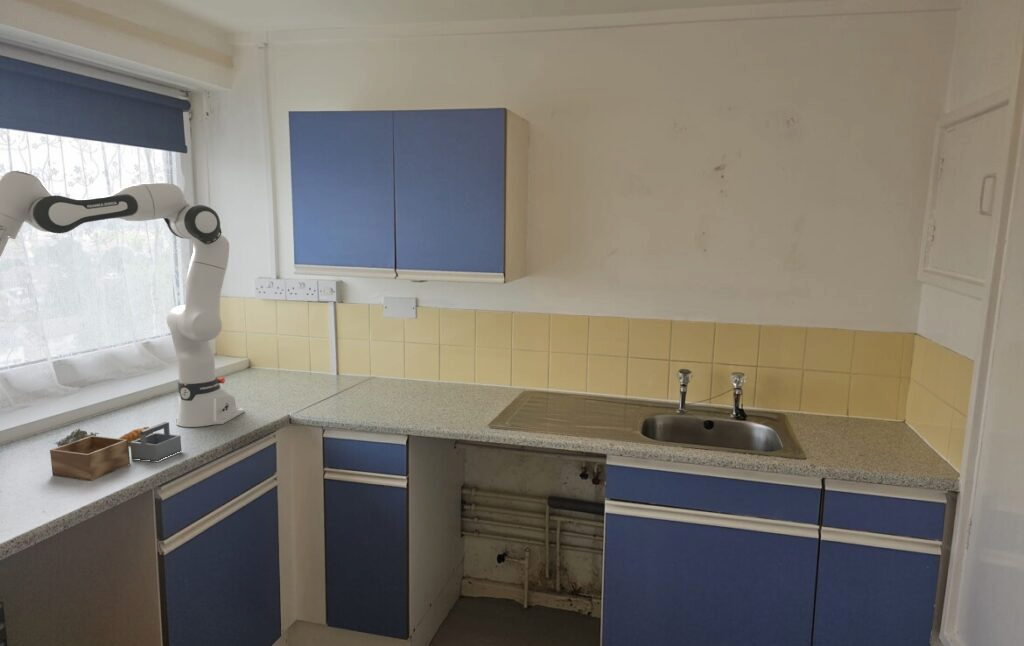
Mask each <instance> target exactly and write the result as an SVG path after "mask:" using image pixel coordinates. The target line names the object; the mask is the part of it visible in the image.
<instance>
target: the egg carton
mask: <svg viewBox="0 0 1024 646" xmlns="http://www.w3.org/2000/svg"><path fill="white" fill-rule="evenodd" d="M97 435H100V433H99V432H95V433H94V432H93V431H92V432H90V434H88V432H87V431H86V430H82V429H81V428H80V427H79V428H77V429H75V430H73V431H72V432H71V433H70V435H66V437H64V438H61V439H60V440H59V441H57V442H54V444H55V445H57V448H58V447H60V446H63V445H66V444H69V443H72V442H75V441H78V440H81V439H84V438H86V437H89V436H97Z"/></svg>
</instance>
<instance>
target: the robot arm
mask: <svg viewBox="0 0 1024 646" xmlns="http://www.w3.org/2000/svg"><path fill="white" fill-rule="evenodd" d="M110 219H120V220H122V221H126V222H143V221H144V222H147V221H152V220H159V219H163V220H164V222H165V223H166V226H167V229H168V230H169V231H170V232H171V233H172V234H173V235H174V236H176V237H178V238H181V239H186V240H191V242H192V245H193V250H192V251H193V253H192V255H191V258H190V262H189V267H188V271H187V274H186V277H185V280H184V287H185V304H180V305H177V306H175V307H173V308H171V309H170V311H169V312H168V313H167V315H166V324H167V326H168V329H169V331H170V333H171V334H170V335H171V340H172V343H173V346H174V350H175V354H176V359H177V369H178V371H177V372H178V382H177V392H178V393H179V395H178V399H177V400H178V403H177V415H176V416H175V420H176V425H177V426H179V427H185V428H198V427H206V426H207V427H208V426H212V425H223V424H225V423H227V422H229V421H230V420H232V419H235V418H236V417H238V416H240V415H241V414H242V413H244V412H245V410H244V408H241V407H237V402H236V398H235V396H234V395H233V394H231V393H229V392H228V391H226V390H224V389H223V388H221V385H223V384H225V383H226V379H225V377H216V365H215V363H216V362H215V354H214V352H213V350H212V347H211V346H210V342H209V341H211V340H214V339H216V338H217V337H219V335H220V334H221V331H222V327H223V324H222V323H223V321H222V320H221V311H220V310H221V292H222V288H223V284H224V281H225V276H226V271H227V268H228V263H229V257H230V256H229V255H230V242H229V240H228V238H226V237H225V236H224V235H223V234H222V229H221V220H220V216H219V215H218V213H217V212H216V211H215V210H214V209H212V208H211V207H209V206H207V205H203V204H190V203H188V202H187V201H186V197H185V195H184V192H183V190H182V188H180V187H179V186H178V185H176V184H174V183H169V182H166V183H165V182H151V183H150V182H146V183H138V184H132V185H128V186H124V187H121V188H118V189H117V190H116V191H115V192H114V193H113V194H111V195H107V196H98V197H92V198H84V199H82V198H81V199H74V198H70V197H67V196H62V195H54V194H53V193H51V192H50V190H49V189H48V188H47V187H46V186H45V185H44V183H43V181H42V180H41V178H39V177H38V176H36V175H33V174H31V173H27V172H24V171H19V170H13V171H8V172H6V173H5V174H4V175H3V176H1V179H0V258H1V256H2V255H3V252H4V250H5V248H6V246H7V244H8V242H9V240H10V239H11V240H16V238H17V236H18V234H19V233H20V230H21V228H22V227H23V224H24V223H25V222H26V223H27V224H29V225H30V226H32V227H33V228H35V229H37V230H38V231H41V232H47V233H53V234H66V233H68V232H70V231H73V230H74V229H76V228H77V227H79V226H80V225H83V224H87V223H90V222H97V221H104V220H110ZM220 384H221V385H220Z"/></svg>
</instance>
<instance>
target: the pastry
mask: <svg viewBox="0 0 1024 646" xmlns="http://www.w3.org/2000/svg"><path fill="white" fill-rule="evenodd" d="M147 428H150V427H149V426H146V427H143V428H137V429H133V430H131V431H129V432H128V433H125V434H124V435H122V436H120V437H119V438H118V439H125V440H128V445H129V444H130V442H132V441H135V440H137V439H140V431H142V430H144V429H147ZM153 433H154V432H153ZM153 433H150V434H153ZM150 434H148V435H150ZM148 435H146V436H148ZM129 446H130V445H129Z"/></svg>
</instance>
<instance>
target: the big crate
mask: <svg viewBox="0 0 1024 646" xmlns="http://www.w3.org/2000/svg"><path fill="white" fill-rule="evenodd" d="M129 446H130V445H128V440H125V439H119V438H115V437H109V436H108V437H107V436H99V435H96V436H89V437H86V438H84V439H81V440H78V441H75V442H72V443H69V444H66V445H63V446H60V447H58V446H57V447H55V448H51V449H50V450H49V453H50V462H51V464H50V465H51V472H52V476H54V477H60V478H69V479H73V480H80V481H81V480H82V481H87V482H88V481H89V482H91V481H93V480H95V479H98V478H100V476H101V477H103V476H105V475H108V474H111V473H112V472H114V471H117V470H119V469H122V468H124V466H125V467H127V466H129V465H131V458H130V457H131V455H130V449H129V448H130V447H129ZM128 464H129V465H128ZM126 465H127V466H126Z"/></svg>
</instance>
